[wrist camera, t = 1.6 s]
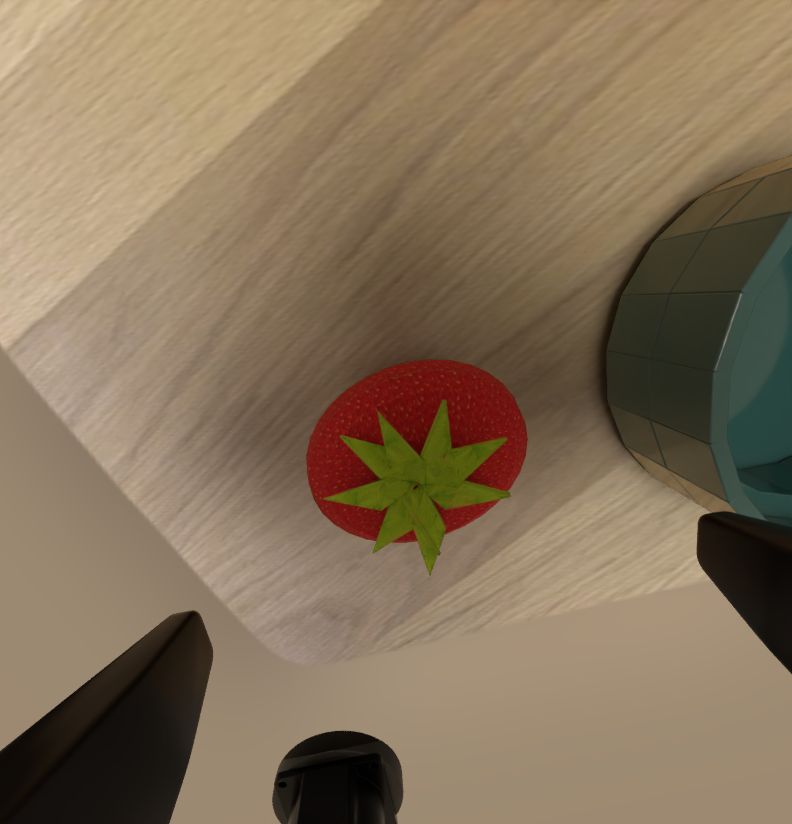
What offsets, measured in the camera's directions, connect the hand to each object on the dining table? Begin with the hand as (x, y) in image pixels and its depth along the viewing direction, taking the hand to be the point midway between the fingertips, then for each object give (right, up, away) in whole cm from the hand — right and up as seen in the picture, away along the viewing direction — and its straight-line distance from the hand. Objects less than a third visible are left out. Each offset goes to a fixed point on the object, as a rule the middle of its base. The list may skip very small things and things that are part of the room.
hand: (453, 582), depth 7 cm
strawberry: (-1, +3, +12) cm, 12 cm away
